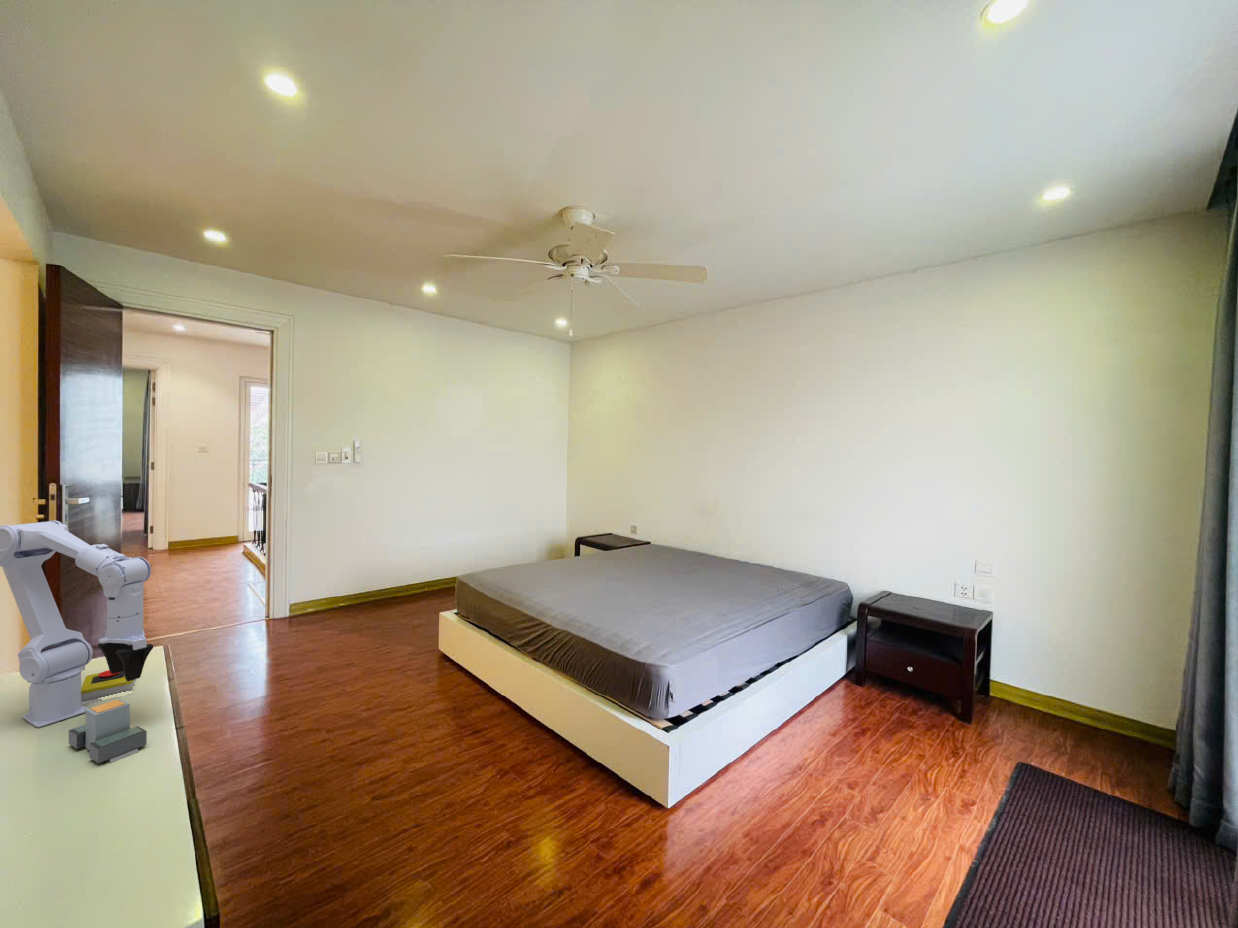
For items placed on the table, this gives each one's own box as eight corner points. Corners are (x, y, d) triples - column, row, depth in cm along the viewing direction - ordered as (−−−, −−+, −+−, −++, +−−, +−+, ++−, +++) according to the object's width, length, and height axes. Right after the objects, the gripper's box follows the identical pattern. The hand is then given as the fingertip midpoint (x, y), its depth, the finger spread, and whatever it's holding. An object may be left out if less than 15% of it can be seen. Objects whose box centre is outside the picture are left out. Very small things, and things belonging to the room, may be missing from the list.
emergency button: (136, 659, 132) (132, 678, 121) (136, 675, 132) (132, 696, 121) (85, 669, 126) (76, 690, 115) (85, 686, 126) (76, 708, 115)
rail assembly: (67, 746, 99) (67, 728, 99) (114, 729, 105) (114, 712, 105) (99, 767, 93) (99, 748, 92) (147, 748, 99) (147, 730, 99)
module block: (85, 747, 98) (85, 708, 98) (119, 734, 102) (119, 698, 102) (95, 753, 96) (95, 714, 96) (129, 740, 100) (129, 703, 100)
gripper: (86, 614, 108) (86, 676, 108) (115, 624, 102) (115, 690, 102) (129, 606, 115) (129, 664, 115) (158, 615, 108) (158, 677, 108)
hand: (125, 675), depth 109 cm, fingers open, 7 cm apart
